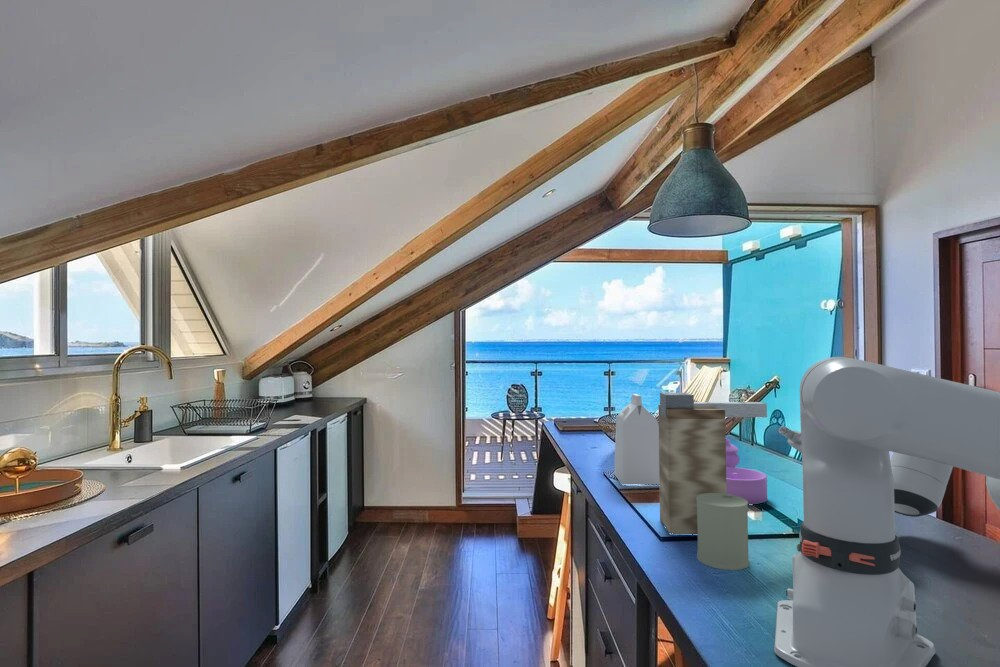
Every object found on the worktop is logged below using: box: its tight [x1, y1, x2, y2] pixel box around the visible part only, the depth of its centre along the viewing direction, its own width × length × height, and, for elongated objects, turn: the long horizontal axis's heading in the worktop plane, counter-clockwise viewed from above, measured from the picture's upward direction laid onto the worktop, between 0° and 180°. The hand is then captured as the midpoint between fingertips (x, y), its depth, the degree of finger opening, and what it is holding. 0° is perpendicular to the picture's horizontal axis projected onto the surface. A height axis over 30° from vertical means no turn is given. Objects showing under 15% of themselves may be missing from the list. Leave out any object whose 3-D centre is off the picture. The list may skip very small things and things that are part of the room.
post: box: [658, 404, 727, 535], centre depth 119 cm, size 12×10×27 cm
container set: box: [726, 438, 768, 504], centre depth 148 cm, size 25×15×13 cm, turn 167°
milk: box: [613, 393, 660, 484], centre depth 161 cm, size 12×12×26 cm
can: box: [696, 493, 751, 571], centre depth 101 cm, size 9×9×12 cm
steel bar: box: [659, 392, 768, 418], centre depth 119 cm, size 22×6×5 cm, turn 85°
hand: (790, 432), depth 118 cm, fingers open, 8 cm apart
